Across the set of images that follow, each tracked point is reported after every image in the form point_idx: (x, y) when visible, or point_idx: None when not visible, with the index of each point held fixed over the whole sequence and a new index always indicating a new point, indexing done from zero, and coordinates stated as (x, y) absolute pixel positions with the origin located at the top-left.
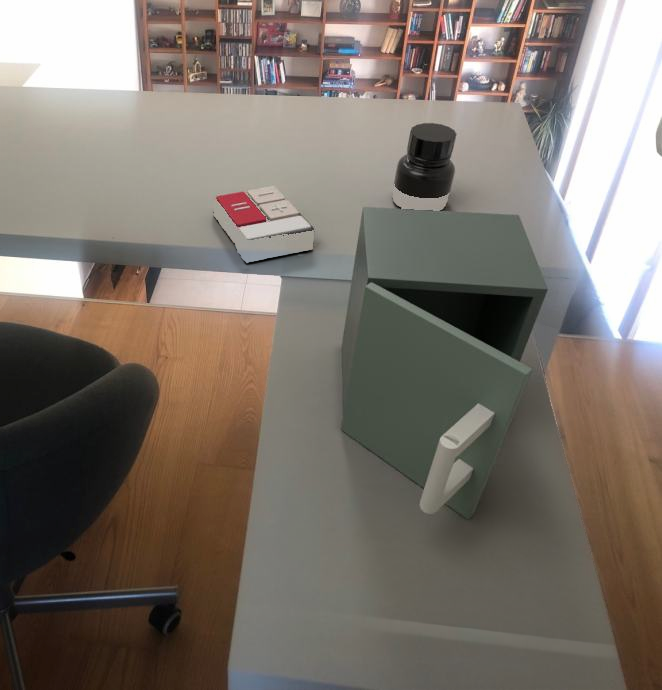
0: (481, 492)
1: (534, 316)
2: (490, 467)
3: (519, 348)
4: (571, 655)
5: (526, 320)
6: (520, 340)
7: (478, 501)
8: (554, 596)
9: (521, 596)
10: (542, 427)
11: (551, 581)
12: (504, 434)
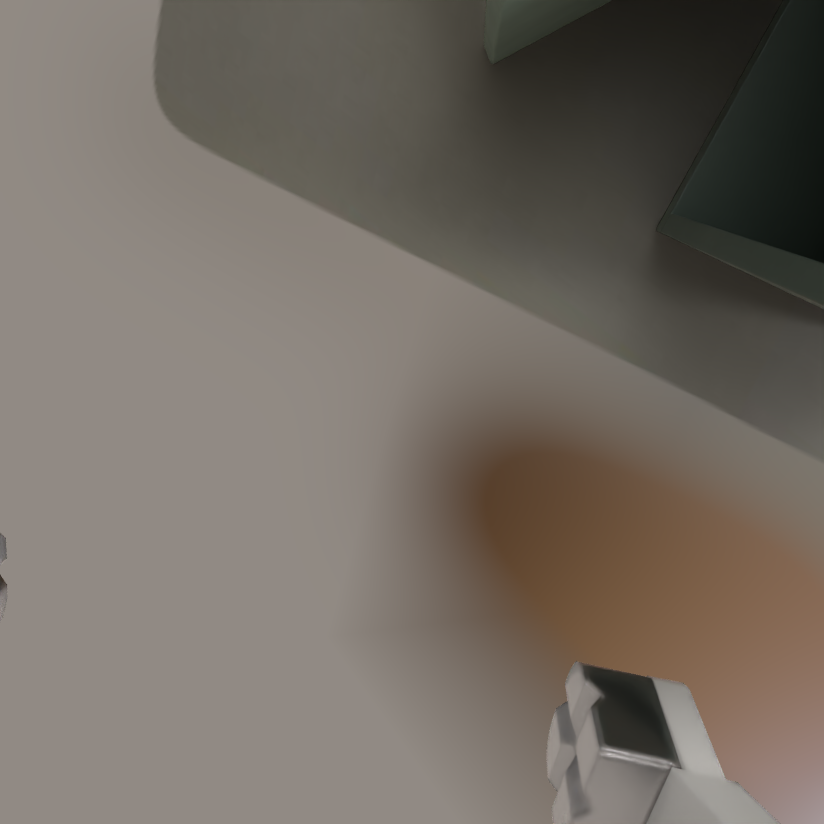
0: (490, 47)
1: (804, 285)
2: (488, 23)
3: (755, 257)
4: (196, 73)
5: (808, 263)
6: (770, 255)
7: (491, 57)
8: (296, 117)
9: (309, 54)
10: (631, 348)
11: (323, 131)
12: (492, 5)
